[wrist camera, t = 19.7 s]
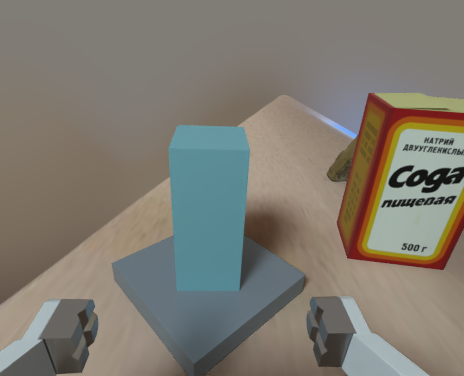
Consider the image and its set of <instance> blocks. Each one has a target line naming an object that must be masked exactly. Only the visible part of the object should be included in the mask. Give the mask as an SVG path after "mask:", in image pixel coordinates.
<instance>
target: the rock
mask: <svg viewBox="0 0 464 376" xmlns="http://www.w3.org/2000/svg"><path fill="white" fill-rule="evenodd" d="M358 135H359V134H358ZM358 135H357V137H356V138H355V139H354V140H353V141H352V142H351V144H350V145H349V146H348V148H347V149H345V150H344V151H342V152H341V153H340V154H339V156H338V157H337V158H336V161H335V162H334V164H333V165H332V166H331V167H330V169H329V171H328V172H327V175H328V176H329V178H330V179H331V180H332V181H347V180H348V176H349V172H350V168H351V163H352V159H353V155H354V151H355V147H356V143H357V139H358Z"/></svg>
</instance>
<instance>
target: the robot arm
mask: <svg viewBox="0 0 464 376" xmlns="http://www.w3.org/2000/svg"><path fill="white" fill-rule="evenodd" d="M310 307H311V310H310V311H309V312H308V314H307V330H308V334H309V337H310V339H311V340H312V341H313V342H314V343H315V344H314V348H313V350H314V354H315V357H316V360H317V363H318V366H319V367H342V369H343V370H344V371H345V373H346V374H347V375H348V376H429V375H428V374H427V373H426V372H424V371H423V370H422V369H421V368H419V367H418V366H417V365H415V364H414V363H413V362H412V361H410V360H409V359H408V358H407V357H405V356H404V355H403V354H401V353H400V352H399V351H398V350H396V349H395V348H394V347H392V346H391V345H390V344H389V343H387V342H386V341H385V340H384V339H382V338H381V337H380V336H378V335H377V334H376V333H371V331H370V329H369V327H368V325H367V323H366V321H365V319H364V317H363V316H362V314H361V312H360V310H359V308H358V306H357V304H356V302H355V300H354V298H352V297H351V296H338V297H337V296H330V297H312V298H311V300H310ZM94 308H95V305H94V301H93V300H88V299H48V300H47V301H46V302H45V303H44V304H43V306H42V308H41V309H40V311H39V312H38V314H37V316H36V317H35V319H34V320H33V322H32V323H31V325H30V327H29V328H28V330H27V331H26V333H25V335H24V336H23V338H22V339H21V340H16V341H15V342H13V343H12V344H10V345H9V346H8V347H6V348H5V349H3V350H2V351H1V352H0V376H56V374H66V373H82V371H83V369H84V366H85V364H86V361H87V359H88V356H89V351H88V347H89V346H90V345H91V344H92V343H94V340H95V338H96V335H97V330H98V317H97V315H96V314H95V313H94V312H93V310H94Z"/></svg>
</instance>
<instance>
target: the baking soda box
mask: <svg viewBox="0 0 464 376" xmlns="http://www.w3.org/2000/svg"><path fill="white" fill-rule="evenodd" d="M337 226H338V229H339V233H340V236H341V239H342V242H343V246H344V249H345V252H346V256H347V258H349V259H357V260H366V261H374V262H382V263H390V264H399V265H407V266H415V267H423V268H432V269H440V270H444V268H445V266H446V264H447V262H448V260H449V258H450V255H451V253H452V251H453V249H454V247H455V245H456V243H457V241H458V239H459V237H460V235H461V233H462V231H463V229H464V99H453V98H441V97H430V96H426V95H424V94H422V93H369V94H368V98H367V103H366V106H365V111H364V115H363V119H362V123H361V127H360V131H359V135H358V139H357V143H356V147H355V151H354V155H353V159H352V163H351V168H350V172H349V176H348V180H347V184H346V188H345V192H344V196H343V200H342V204H341V208H340V212H339V216H338V220H337Z"/></svg>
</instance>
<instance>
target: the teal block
mask: <svg viewBox="0 0 464 376" xmlns="http://www.w3.org/2000/svg"><path fill="white" fill-rule="evenodd" d="M249 156H250V149H249V145H248V141H247V138H246V134H245V130H244V127H220V126H189V125H188V126H187V125H178V126H177V129H176V132H175V134H174V136H173V139H172V141H171V144H170V146H169V163H170V181H171V199H172V216H173V234H174V251H175V269H176V286H177V291H239V289H240V276H241V263H242V249H243V236H244V223H245V209H246V196H247V183H248V169H249Z"/></svg>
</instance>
